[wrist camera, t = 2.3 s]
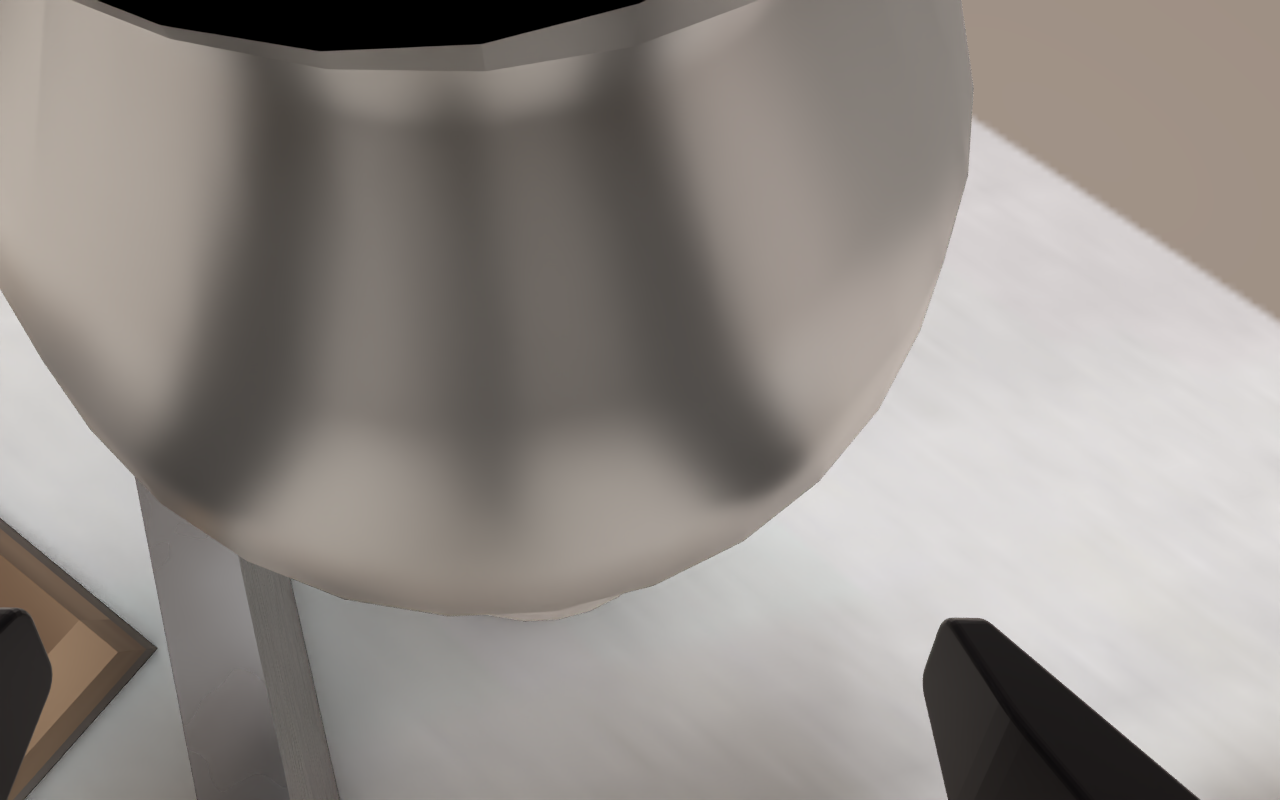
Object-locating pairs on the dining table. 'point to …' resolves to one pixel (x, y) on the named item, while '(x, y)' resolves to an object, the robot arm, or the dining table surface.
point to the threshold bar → (236, 668)
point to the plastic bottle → (478, 268)
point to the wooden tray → (65, 651)
